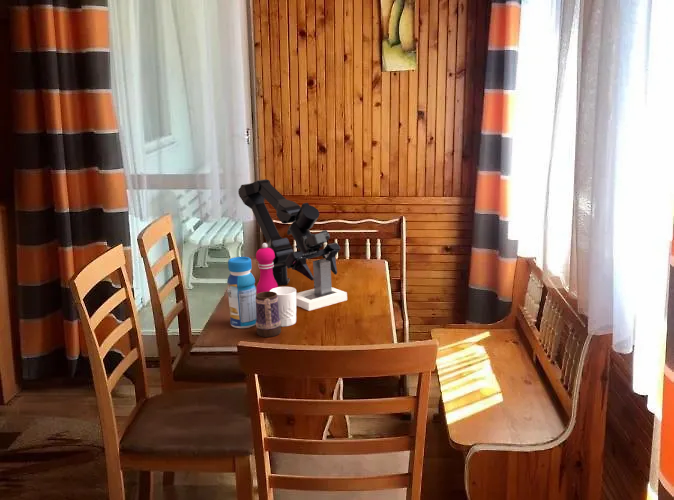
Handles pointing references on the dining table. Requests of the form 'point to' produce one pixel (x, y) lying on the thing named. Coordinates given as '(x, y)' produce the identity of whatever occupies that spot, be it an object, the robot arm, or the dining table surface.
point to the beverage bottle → (241, 293)
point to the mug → (267, 314)
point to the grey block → (321, 279)
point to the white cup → (286, 304)
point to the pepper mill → (265, 269)
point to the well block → (319, 299)
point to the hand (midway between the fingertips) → (324, 276)
